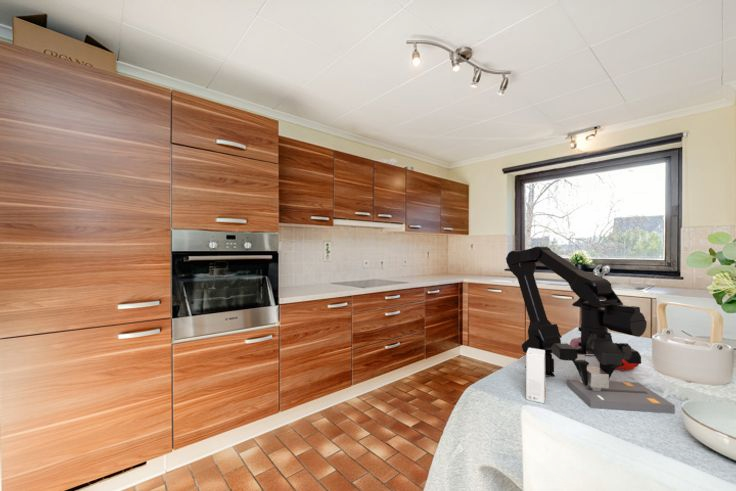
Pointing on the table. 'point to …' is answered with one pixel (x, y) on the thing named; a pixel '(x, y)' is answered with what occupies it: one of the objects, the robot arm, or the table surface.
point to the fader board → (621, 397)
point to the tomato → (627, 365)
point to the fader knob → (597, 378)
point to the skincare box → (535, 375)
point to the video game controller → (575, 342)
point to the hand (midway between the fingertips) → (594, 385)
